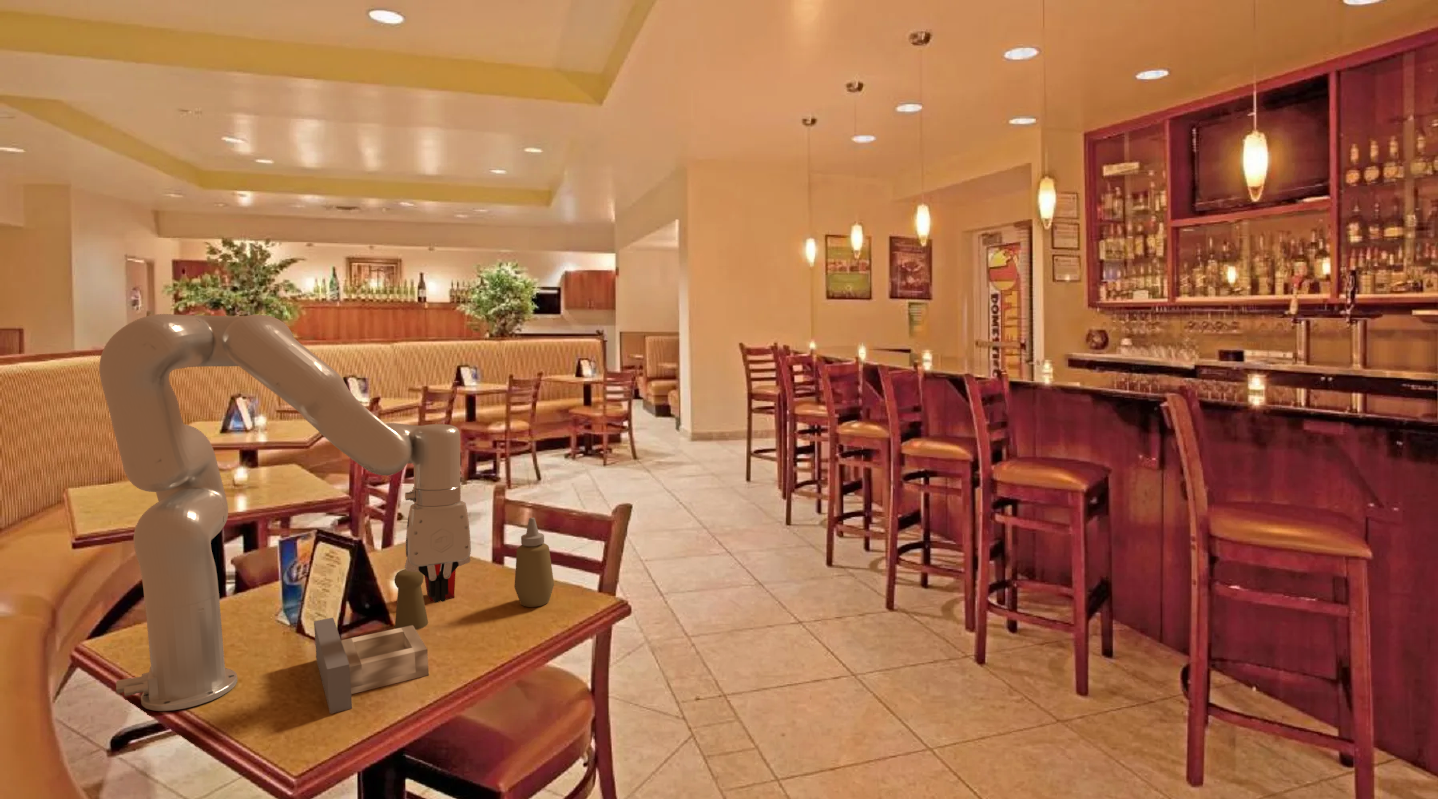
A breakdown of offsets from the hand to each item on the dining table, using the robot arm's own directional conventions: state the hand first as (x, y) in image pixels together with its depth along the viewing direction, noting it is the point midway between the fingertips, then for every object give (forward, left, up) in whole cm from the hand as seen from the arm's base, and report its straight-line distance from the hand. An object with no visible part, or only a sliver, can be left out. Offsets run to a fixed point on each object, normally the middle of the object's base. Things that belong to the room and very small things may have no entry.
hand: (438, 599), depth 132 cm
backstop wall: (-17, 0, -10) cm, 20 cm away
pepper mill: (-2, +18, -11) cm, 21 cm away
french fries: (+7, +30, -11) cm, 32 cm away
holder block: (-9, 0, -10) cm, 14 cm away
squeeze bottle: (+22, +16, -11) cm, 29 cm away
